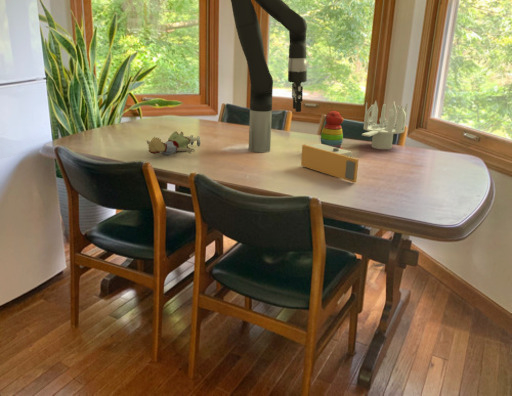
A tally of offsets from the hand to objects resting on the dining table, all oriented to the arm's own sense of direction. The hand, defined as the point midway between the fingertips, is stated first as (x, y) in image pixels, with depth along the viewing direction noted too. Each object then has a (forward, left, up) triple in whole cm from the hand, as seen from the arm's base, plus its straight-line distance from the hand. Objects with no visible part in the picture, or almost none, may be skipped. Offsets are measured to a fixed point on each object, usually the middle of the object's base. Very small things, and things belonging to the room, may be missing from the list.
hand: (296, 110), depth 193 cm
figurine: (-50, -7, -18) cm, 54 cm away
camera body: (+10, -27, -18) cm, 34 cm away
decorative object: (+38, +11, -18) cm, 44 cm away
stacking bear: (+16, +1, -18) cm, 24 cm away
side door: (+9, -34, -17) cm, 39 cm away
